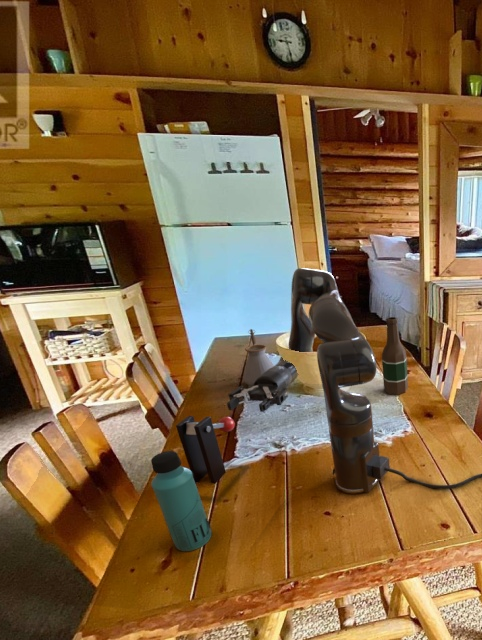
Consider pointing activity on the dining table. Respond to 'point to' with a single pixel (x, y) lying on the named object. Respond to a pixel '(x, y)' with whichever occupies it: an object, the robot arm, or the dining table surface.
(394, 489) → the dining table surface
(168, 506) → the beverage bottle
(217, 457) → the tap bracket
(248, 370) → the coffee pot
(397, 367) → the beer bottle
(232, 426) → the tap lever
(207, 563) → the dining table surface
